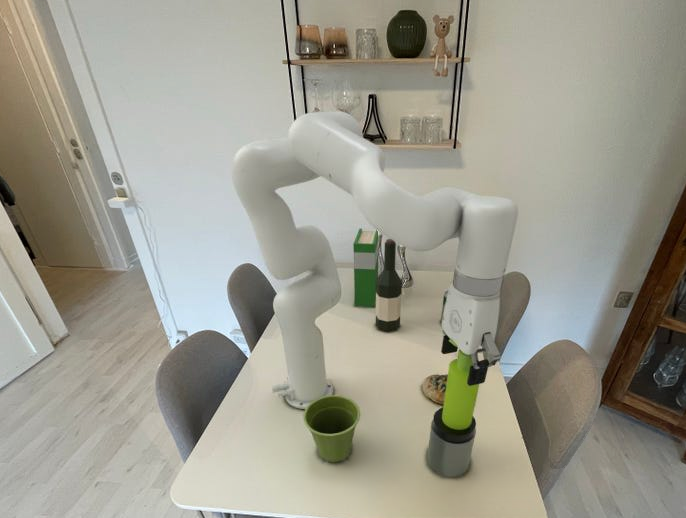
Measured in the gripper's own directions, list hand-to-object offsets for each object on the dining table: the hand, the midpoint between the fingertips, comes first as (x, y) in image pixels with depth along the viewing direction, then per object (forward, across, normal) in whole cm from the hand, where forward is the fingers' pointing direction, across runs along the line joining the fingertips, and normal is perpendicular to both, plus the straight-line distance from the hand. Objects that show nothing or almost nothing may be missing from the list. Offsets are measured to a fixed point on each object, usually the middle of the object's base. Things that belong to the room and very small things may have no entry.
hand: (461, 367), depth 70 cm
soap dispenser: (+13, 0, 0) cm, 13 cm away
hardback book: (+26, -81, +8) cm, 86 cm away
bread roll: (+26, -20, +10) cm, 34 cm away
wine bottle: (+26, -57, +8) cm, 63 cm away
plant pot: (+26, -9, -22) cm, 35 cm away
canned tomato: (+26, -52, +30) cm, 65 cm away
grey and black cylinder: (+25, +1, 0) cm, 25 cm away
